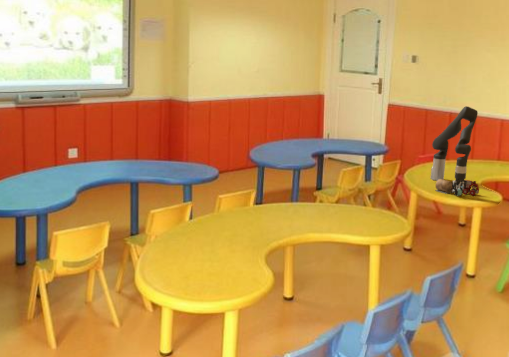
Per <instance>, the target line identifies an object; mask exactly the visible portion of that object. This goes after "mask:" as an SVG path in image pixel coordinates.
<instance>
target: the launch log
mask: <svg viewBox="0 0 509 357" xmlns="http://www.w3.org/2000/svg"><path fill="white" fill-rule="evenodd" d="M452 182H453V181H449V180H445V179H444V180H442V179H439V180H438V181H436V183H435V188H436V189H435V190H441V191H445V192H448V194H451V193H450V192H452V190H453V189H452Z"/></svg>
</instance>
